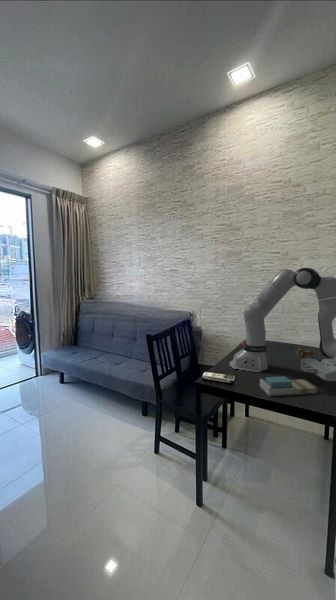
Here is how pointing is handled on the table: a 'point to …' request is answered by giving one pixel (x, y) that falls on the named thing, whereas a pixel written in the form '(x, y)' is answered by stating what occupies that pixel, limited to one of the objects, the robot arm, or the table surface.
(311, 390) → the birch plate
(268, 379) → the teal block
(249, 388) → the table surface
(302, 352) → the lion figurine
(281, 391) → the box
